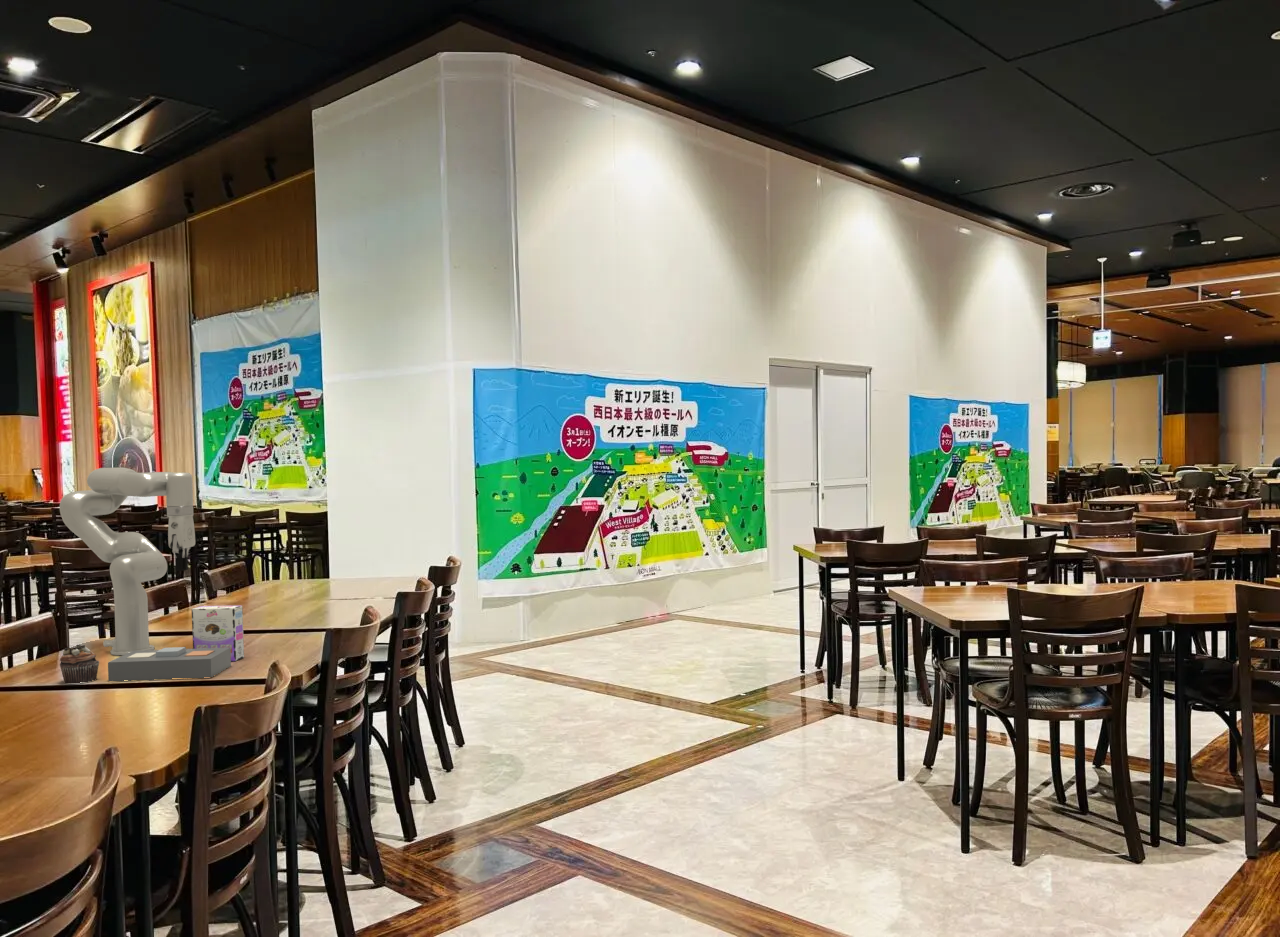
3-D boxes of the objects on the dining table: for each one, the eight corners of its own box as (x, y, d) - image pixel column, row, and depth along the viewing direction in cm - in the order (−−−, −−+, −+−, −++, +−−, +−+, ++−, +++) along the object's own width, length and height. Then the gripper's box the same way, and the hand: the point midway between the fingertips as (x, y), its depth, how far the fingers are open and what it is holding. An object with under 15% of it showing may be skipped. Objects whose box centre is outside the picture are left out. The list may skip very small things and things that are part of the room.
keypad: (108, 681, 272) (107, 662, 272) (133, 669, 288) (133, 650, 288) (211, 678, 274) (210, 658, 274) (231, 665, 290) (230, 647, 290)
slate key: (156, 664, 278) (155, 651, 278) (164, 659, 284) (164, 647, 284) (177, 663, 279) (177, 651, 279) (186, 659, 285) (185, 647, 285)
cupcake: (82, 685, 269) (81, 649, 269) (52, 684, 271) (51, 648, 271) (107, 677, 279) (106, 642, 278) (78, 676, 280) (77, 641, 280)
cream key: (127, 669, 278) (126, 657, 278) (136, 665, 284) (136, 653, 284) (149, 668, 278) (148, 656, 278) (157, 664, 284) (157, 652, 284)
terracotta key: (185, 667, 279) (184, 655, 279) (193, 663, 285) (192, 651, 285) (206, 666, 279) (206, 654, 279) (214, 662, 285) (214, 650, 285)
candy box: (245, 657, 302) (243, 604, 302) (235, 661, 296) (233, 607, 296) (202, 657, 304) (201, 605, 303) (192, 661, 298) (190, 608, 297)
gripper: (183, 513, 298) (184, 573, 298) (201, 510, 313) (203, 567, 313) (157, 513, 297) (159, 573, 298) (177, 510, 312) (179, 567, 313)
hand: (181, 570), depth 305 cm, fingers closed
